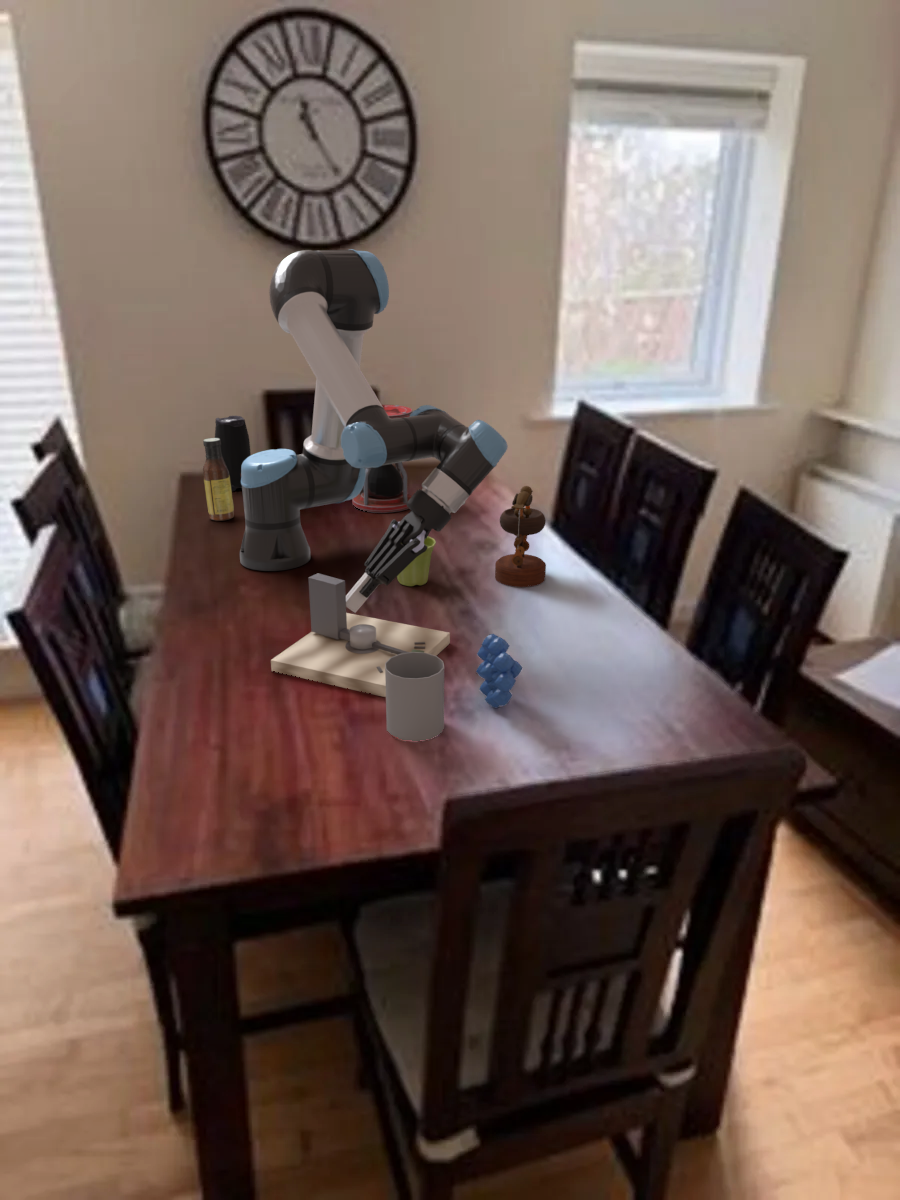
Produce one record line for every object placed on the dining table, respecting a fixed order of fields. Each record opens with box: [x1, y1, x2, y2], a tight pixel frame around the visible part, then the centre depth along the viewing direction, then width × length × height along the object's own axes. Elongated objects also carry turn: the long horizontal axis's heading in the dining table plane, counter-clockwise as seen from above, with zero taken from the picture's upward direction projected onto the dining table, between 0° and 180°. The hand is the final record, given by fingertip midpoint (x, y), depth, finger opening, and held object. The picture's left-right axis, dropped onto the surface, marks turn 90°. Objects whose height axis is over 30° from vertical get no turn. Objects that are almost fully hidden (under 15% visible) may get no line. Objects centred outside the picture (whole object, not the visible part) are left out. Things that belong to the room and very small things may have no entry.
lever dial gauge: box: [307, 573, 410, 655], centre depth 146 cm, size 20×4×10 cm, turn 56°
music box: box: [494, 485, 547, 588], centre depth 181 cm, size 15×11×20 cm
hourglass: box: [351, 404, 414, 514], centre depth 228 cm, size 16×16×25 cm
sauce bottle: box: [202, 437, 235, 522], centre depth 217 cm, size 7×6×20 cm
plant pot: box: [396, 536, 437, 587], centre depth 180 cm, size 9×9×9 cm
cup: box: [385, 652, 445, 741], centre depth 126 cm, size 8×8×10 cm
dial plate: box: [270, 612, 451, 698], centre depth 148 cm, size 22×22×2 cm
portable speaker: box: [214, 415, 252, 492], centre depth 244 cm, size 9×9×20 cm
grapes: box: [475, 633, 523, 709], centre depth 131 cm, size 12×7×12 cm, turn 16°
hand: (348, 607), depth 151 cm, fingers closed
